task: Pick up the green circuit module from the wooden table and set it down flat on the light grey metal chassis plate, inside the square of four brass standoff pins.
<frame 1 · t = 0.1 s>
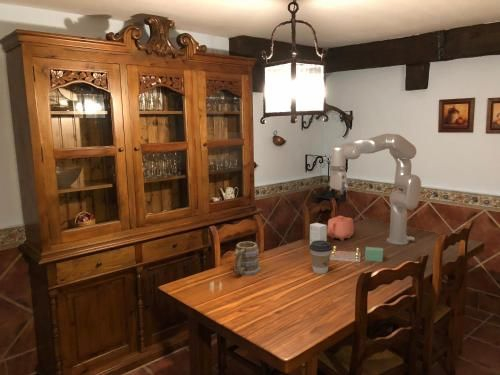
hand: (337, 199, 232), 31 cm above the table, tool pointing down, fingers open, 9 cm apart
coffee cup: (320, 271, 213), on the table
small box: (318, 246, 252), on the table
tankard: (244, 273, 212), on the table
circuit module: (373, 259, 228), on the table
teapot: (340, 237, 267), on the table
chassis plate: (345, 256, 232), on the table
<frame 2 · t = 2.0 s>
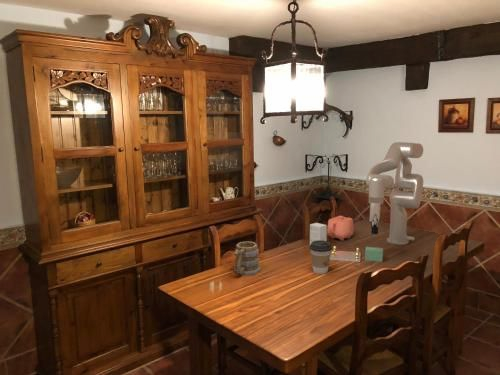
hand: (374, 231, 225), 16 cm above the table, tool pointing down, fingers open, 9 cm apart
nothing on the table moved.
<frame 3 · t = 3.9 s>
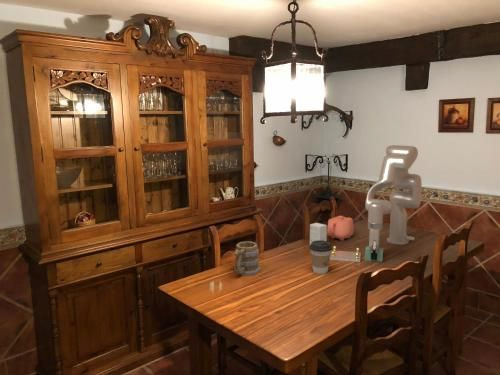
hand: (373, 257, 228), 1 cm above the table, tool pointing down, fingers closed on circuit module, 5 cm apart
circuit module: (373, 259, 228), on the table, touching gripper
everything else where it was.
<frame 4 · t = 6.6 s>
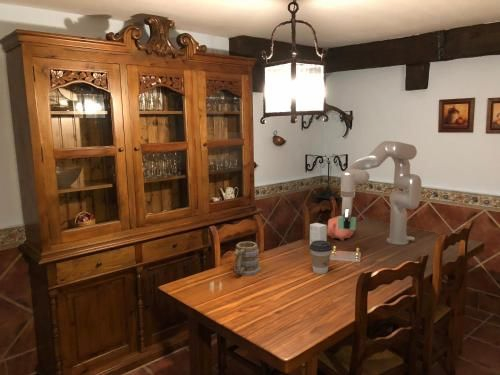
hand: (346, 226, 229), 18 cm above the table, tool pointing down, fingers closed on circuit module, 5 cm apart
circuit module: (346, 228, 229), point 17 cm above the table, touching gripper
everything else where it was.
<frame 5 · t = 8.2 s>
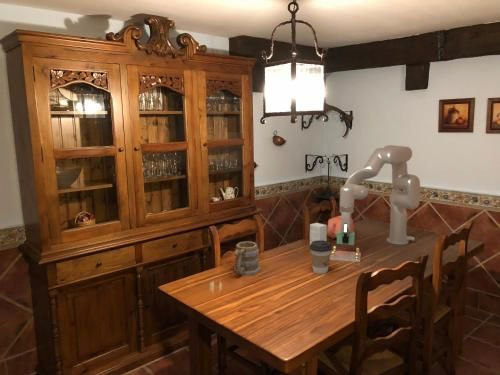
hand: (345, 241, 230), 9 cm above the table, tool pointing down, fingers closed on circuit module, 5 cm apart
circuit module: (345, 242, 230), point 8 cm above the table, touching gripper
everything else where it was.
when the fingers open (4 cm above the table, at t = 9.6 s): circuit module drops 2 cm, resting on chassis plate.
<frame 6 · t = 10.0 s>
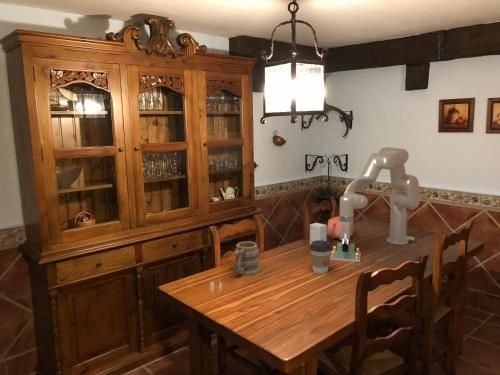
hand: (345, 248, 231), 5 cm above the table, tool pointing down, fingers open, 9 cm apart
circuit module: (345, 254, 232), point 1 cm above the table, touching chassis plate
everything else where it was.
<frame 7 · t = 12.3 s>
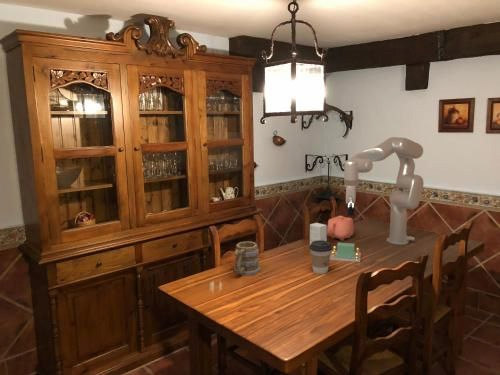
hand: (351, 213, 233), 24 cm above the table, tool pointing down, fingers open, 9 cm apart
nothing on the table moved.
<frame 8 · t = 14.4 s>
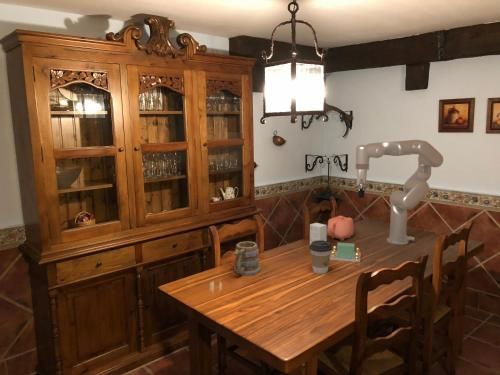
hand: (361, 195, 245), 30 cm above the table, tool pointing down, fingers open, 9 cm apart
nothing on the table moved.
at the end: circuit module 0.1 cm off-centre on the chassis plate, point 1.2 cm above the chassis plate's base; circuit module tilted 0°; the gripper is holding nothing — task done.
